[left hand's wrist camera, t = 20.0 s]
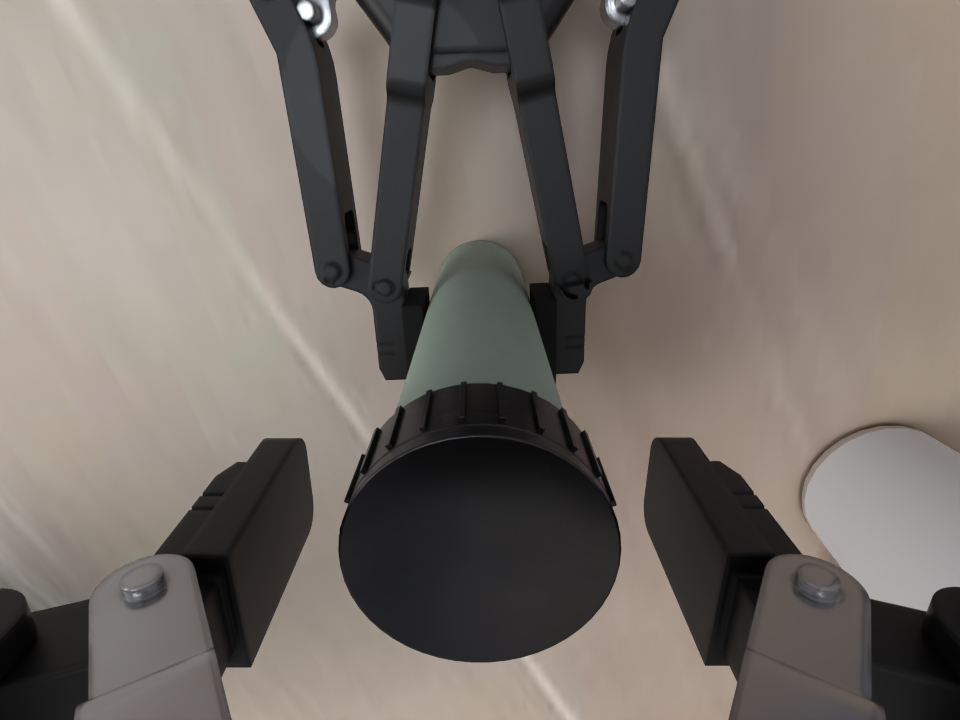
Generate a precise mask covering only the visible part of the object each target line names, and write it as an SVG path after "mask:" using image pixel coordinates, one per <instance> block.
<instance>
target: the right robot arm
mask: <svg viewBox="0 0 960 720" xmlns="http://www.w3.org/2000/svg"><path fill="white" fill-rule="evenodd" d="M356 1H357V3H358V4H359V5H360V7H361V8H362V9H363V11H364V12H365V13H366V15H367V16H368V17H369V19H370V20H371V22H372V23H373V24H374V26H375V27H376V28H377V30H378V31H379V32H380V34H381V35H382V36H383V38H384V39H385V40H386V42H387V43H388V44H389V46H390V51H389V61H388V70H387V82H386V90H387V106H386V115H385V125H384V135H383V144H382V154H381V164H380V173H379V183H378V193H377V203H376V212H375V222H374V232H373V241H372V251H371V253H369V252H366V251H363V250H361V244H360V237H359V230H358V223H357V217H356V210H355V203H354V196H353V189H352V182H351V175H350V168H349V161H348V154H347V147H346V140H345V133H344V126H343V119H342V112H341V105H340V99H339V92H338V85H337V78H336V72H335V67H334V62H333V59H332V56H331V52H330V49H329V46H328V44H327V40H329V39H330V38H331V37H333V36H334V34H335V33H336V30H337V27H338V18H337V13H336V9H335V7H336V0H250V2H251V4H252V6H253V8H254V10H255V12H256V14H257V16H258V18H259V20H260V22H261V24H262V26H263V28H264V30H265V32H266V34H267V36H268V38H269V40H270V42H271V44H272V46H273V48H274V49H275V51H276V53H277V58H278V64H279V69H280V75H281V81H282V86H283V92H284V98H285V103H286V109H287V115H288V120H289V126H290V132H291V137H292V143H293V149H294V154H295V160H296V166H297V171H298V177H299V183H300V188H301V194H302V200H303V205H304V211H305V217H306V222H307V228H308V234H309V239H310V245H311V251H312V256H313V262H314V268H315V273H316V275H317V278H318V280H319V281H320V282H321V283H322V284H323V285H325V286H327V287H331V288H337V287H344V288H347V289H350V290H353V291H357V292H359V293H361V294H363V295H364V296H366V297H367V299H368V300H369V301H370V303H371V305H372V308H373V314H374V323H375V332H376V341H377V350H378V359H379V368H380V370H381V372H382V374H383V376H384V377H385V379H386V380H401V379H406V378H407V374H408V371H409V368H410V365H411V362H412V358H413V355H414V352H415V349H416V346H417V342H418V339H419V336H420V333H421V329H422V326H423V323H424V320H425V317H426V313H427V310H428V307H429V304H430V301H429V287H420V288H410V289H409V285H408V279H409V277H410V274H411V271H410V266H411V258H412V251H413V243H414V235H415V228H416V220H417V212H418V205H419V197H420V189H421V182H422V174H423V166H424V158H425V151H426V143H427V135H428V128H429V120H430V112H431V107H432V103H433V98H434V91H435V83H436V76H438V75H450V74H453V73H456V72H459V71H462V70H465V69H467V68H475V69H479V70H483V71H487V72H491V73H506V75H507V80H508V85H509V89H510V94H511V98H512V101H513V105H514V109H515V114H516V119H517V123H518V128H519V133H520V138H521V143H522V147H523V152H524V157H525V162H526V167H527V171H528V176H529V181H530V186H531V191H532V195H533V200H534V205H535V210H536V215H537V219H538V224H539V229H540V234H541V239H542V243H543V248H544V253H545V258H546V263H547V267H548V271H549V283H532V284H530V304H531V307H532V310H533V314H534V317H535V320H536V323H537V326H538V330H539V333H540V336H541V339H542V343H543V346H544V349H545V352H546V356H547V359H548V362H549V365H550V368H551V372H552V375H553V378H554V381H555V385H556V374H568V373H579V370H580V368H581V366H582V364H583V362H584V339H585V338H584V336H585V309H586V298H587V297H588V296H589V295H590V293H591V291H592V289H593V287H594V286H595V285H597V284H599V283H601V282H604V281H606V280H609V279H611V278H614V277H616V276H617V277H627V276H630V275H631V274H633V273H635V271H636V270H637V269H638V267H639V265H640V261H641V253H642V243H643V233H644V223H645V213H646V202H647V192H648V182H649V172H650V162H651V152H652V142H653V132H654V122H655V112H656V102H657V92H658V82H659V72H660V62H661V52H662V42H663V37H664V34H665V32H666V30H667V27H668V25H669V22H670V20H671V18H672V15H673V13H674V10H675V8H676V6H677V3H678V1H679V0H601V4H600V16H601V18H602V21H603V22H604V23H605V24H606V25H607V26H608V27H610V28H612V29H613V32H612V35H611V40H610V44H609V49H608V55H607V63H606V75H605V90H604V105H603V119H602V134H601V149H600V163H599V178H598V192H597V207H596V222H595V236H594V241H593V242H591V243H588V244H586V245H583V242H582V236H581V231H580V225H579V220H578V214H577V209H576V203H575V198H574V192H573V187H572V181H571V176H570V170H569V165H568V159H567V154H566V148H565V143H564V138H563V132H562V127H561V121H560V116H559V110H558V105H557V99H556V93H555V77H554V70H553V65H552V59H551V54H550V48H549V42H548V41H549V39H550V38H551V36H552V34H553V33H554V31H555V30H556V28H557V26H558V25H559V23H560V22H561V20H562V18H563V17H564V15H565V14H566V12H567V10H568V9H569V7H570V6H571V4H572V2H573V1H574V0H356Z"/></svg>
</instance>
